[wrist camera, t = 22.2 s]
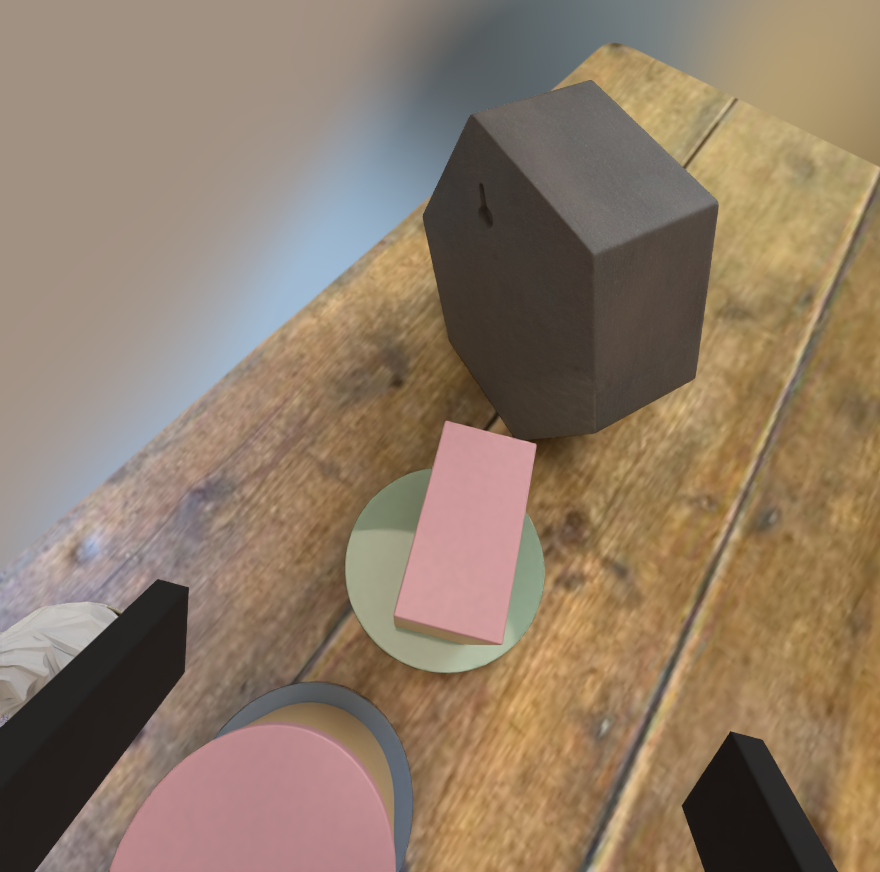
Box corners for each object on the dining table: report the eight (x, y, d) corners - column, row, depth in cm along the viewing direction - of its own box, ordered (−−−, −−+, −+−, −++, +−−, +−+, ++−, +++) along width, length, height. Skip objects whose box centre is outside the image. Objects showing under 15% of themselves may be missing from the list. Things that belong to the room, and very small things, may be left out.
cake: (135, 884, 24) (-22, 1029, 15) (265, 646, 29) (206, 647, 20) (348, 1005, 23) (316, 1240, 14) (446, 736, 28) (470, 781, 19)
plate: (308, 616, 29) (305, 616, 29) (399, 444, 35) (399, 438, 34) (501, 710, 28) (504, 713, 27) (564, 517, 33) (569, 513, 33)
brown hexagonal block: (686, 449, 31) (741, 53, 19) (595, 503, 29) (590, 98, 17) (530, 362, 44) (503, 94, 32) (460, 395, 42) (401, 123, 30)
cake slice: (465, 645, 29) (502, 645, 19) (394, 625, 29) (392, 616, 19) (493, 505, 32) (537, 443, 22) (430, 489, 32) (445, 419, 22)
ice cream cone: (215, 613, 29) (54, 586, 15) (200, 707, 27) (-1, 772, 13) (129, 615, 29) (-115, 588, 15) (107, 710, 27) (-198, 780, 13)
